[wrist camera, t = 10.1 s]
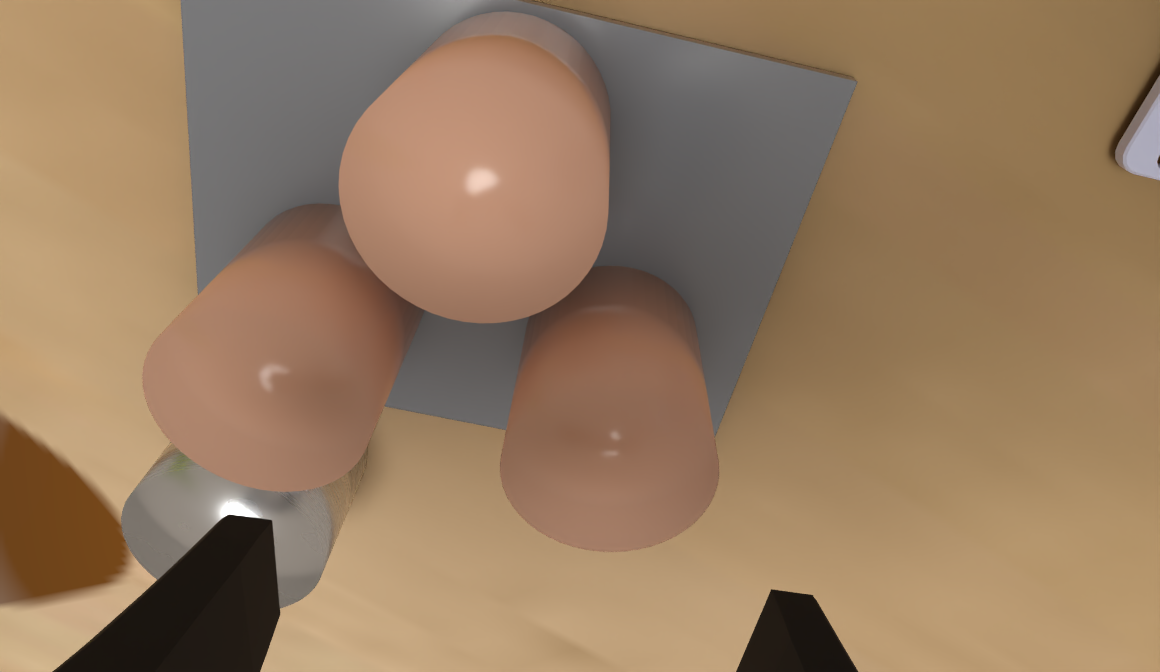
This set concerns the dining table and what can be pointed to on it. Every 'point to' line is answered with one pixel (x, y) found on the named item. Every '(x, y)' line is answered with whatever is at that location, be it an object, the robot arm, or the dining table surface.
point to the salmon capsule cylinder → (611, 417)
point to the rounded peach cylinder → (483, 171)
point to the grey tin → (201, 499)
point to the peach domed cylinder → (282, 358)
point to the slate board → (636, 180)
